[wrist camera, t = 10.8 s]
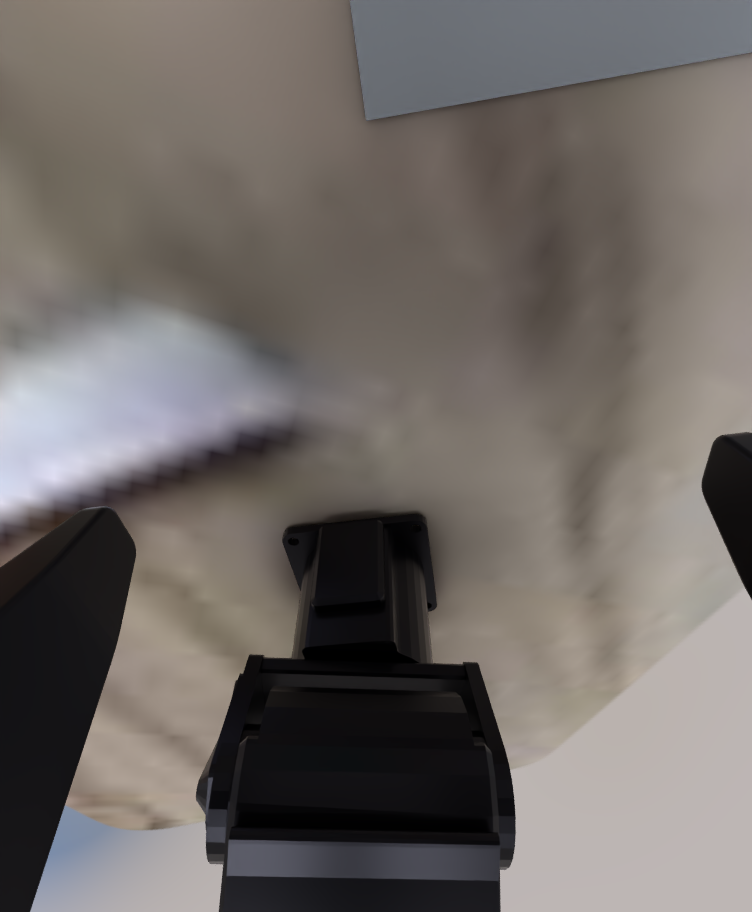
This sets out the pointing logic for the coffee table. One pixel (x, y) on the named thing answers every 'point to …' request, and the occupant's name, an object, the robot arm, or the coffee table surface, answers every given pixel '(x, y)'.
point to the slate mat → (528, 45)
